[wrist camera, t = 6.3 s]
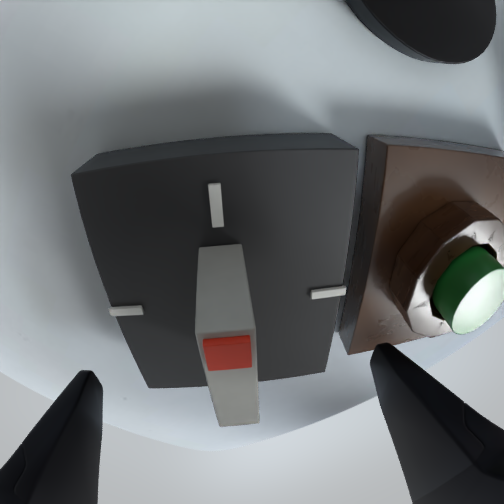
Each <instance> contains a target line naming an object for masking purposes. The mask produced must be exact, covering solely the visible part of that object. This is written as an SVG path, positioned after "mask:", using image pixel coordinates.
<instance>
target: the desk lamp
mask: <svg viewBox="0 0 504 504" xmlns="http://www.w3.org/2000/svg"><path fill="white" fill-rule="evenodd" d="M346 2H347V3H348V5H349V6H350V8H351V9H352V10H353V12H354V13H355V14H356V15H357V16H358V18H359V19H360V20H361V21H362V22H363V23H364V24H365V25H366V26H367V27H368V28H369V29H370V30H371V31H372V32H373V33H374V34H375V35H376V36H378V37H379V38H380V39H381V40H383V41H384V42H385V43H387V44H388V45H390V46H391V47H393V48H394V49H396V50H398V51H399V52H401V53H403V54H405V55H408V56H410V57H412V58H415V59H418V60H421V61H427V62H433V63H445V64H460V63H465V62H468V61H471V60H473V59H475V58H476V57H478V56H479V55H480V54H482V53H483V52H484V51H485V49H486V48H487V47H488V45H489V43H490V41H491V39H492V37H493V34H494V30H495V25H496V5H495V0H346Z"/></svg>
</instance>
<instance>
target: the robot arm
mask: <svg viewBox="0 0 504 504" xmlns="http://www.w3.org/2000/svg"><path fill="white" fill-rule="evenodd" d="M370 367H371V371H372V374H373V378H374V382H375V386H376V390H377V395H378V398H379V402H380V406H381V409H382V412H383V415H384V418H385V420H386V423H387V426H388V429H389V432H390V434H391V437H392V440H393V443H394V446H395V449H396V452H397V455H398V458H399V461H400V464H401V467H402V470H403V473H404V476H405V479H406V483H407V486H408V489H409V492H410V496H411V499H412V502H413V504H504V430H503V429H502V428H500V427H498V426H497V425H495V424H494V423H492V422H490V421H489V420H488V419H486V418H485V417H483V416H482V415H480V414H479V413H478V412H477V411H475V410H474V409H473V408H471V407H470V406H469V405H468V404H466V403H464V401H462V400H461V399H460V398H459V397H457V396H456V395H455V394H454V393H452V392H451V391H450V390H449V389H447V388H446V387H445V386H444V385H442V384H441V383H440V382H438V381H437V380H436V379H435V378H433V377H432V376H431V375H430V374H428V373H427V372H426V371H425V370H423V369H422V368H421V367H420V366H418V365H417V364H416V363H414V362H413V361H412V360H411V359H409V358H408V357H407V356H405V355H404V354H403V353H402V352H400V351H399V350H398V349H397V348H395V347H394V346H393V345H391V344H390V343H388V342H385V343H381V344H377V345H376V346H375V349H374V352H373V354H372V357H371V360H370ZM102 413H103V388H102V385H101V383H100V382H99V380H98V378H97V377H96V375H95V374H94V372H93V371H91V370H81V371H80V372H79V373H78V374H77V375H76V376H75V377H74V379H73V380H72V381H71V382H70V383H69V385H68V386H67V387H66V388H65V389H64V391H63V392H62V393H61V394H60V395H59V397H58V398H57V399H56V400H55V402H54V403H53V404H52V405H51V407H50V408H49V409H48V410H47V411H46V413H45V414H44V415H43V417H42V418H41V419H40V420H39V422H38V423H37V424H36V426H35V427H34V428H33V429H32V431H31V432H30V433H29V434H28V436H27V437H26V438H25V440H24V441H23V442H22V444H21V445H20V446H19V448H18V449H17V450H16V451H15V453H14V454H13V455H12V456H11V458H10V459H9V460H8V461H7V463H6V464H5V465H4V466H3V467H2V468H1V469H0V504H97V502H98V478H99V463H100V450H101V440H102Z"/></svg>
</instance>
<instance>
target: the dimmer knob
mask: <svg viewBox="0 0 504 504" xmlns="http://www.w3.org/2000/svg"><path fill="white" fill-rule="evenodd" d="M195 335H196V339H197V344H198V348H199V352H200V356H201V360H202V364H203V368H204V372H205V376H206V380H207V383H208V387H209V391H210V395H211V398H212V402H213V405H214V409H215V413H216V416H217V420H218V423H219V426H220V427H224V426H237V425H247V424H256V423H259V397H258V371H257V345H256V326H255V320H254V314H253V308H252V303H251V297H250V291H249V285H248V279H247V273H246V267H245V261H244V255H243V249H242V245H241V244H233V245H222V246H211V247H200V248H199V254H198V272H197V292H196V318H195Z"/></svg>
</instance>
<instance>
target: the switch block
mask: <svg viewBox="0 0 504 504" xmlns="http://www.w3.org/2000/svg"><path fill="white" fill-rule="evenodd" d="M474 246H479V247H482V248H484V249H485V250H486V251H488V252H489V253H490V254H491V255H492V256H493V257H494V258H495V259H496V260H497V261H498V262H499V263H500V264H501V265H502V266H503V267H504V151H501V150H496V149H490V148H484V147H479V146H472V145H466V144H459V143H452V142H444V141H436V140H427V139H418V138H407V137H395V136H380V135H368V136H367V149H366V162H365V172H364V182H363V192H362V200H361V209H360V216H359V224H358V231H357V238H356V245H355V251H354V257H353V263H352V269H351V275H350V280H349V286H348V291H347V296H346V302H345V307H344V311H343V316H342V321H341V326H340V330H339V335H340V338H341V340H342V342H343V345H344V347H345V350H346V352H347V354H348V355H351V354H356V353H361V352H366V351H371V350H374V349H375V346H376V345H377V344H381V343H385V342H388V343H390V344H391V345H397V344H401V343H405V342H409V341H413V340H416V339H420V338H424V337H430V338H431V337H435V336H439V335H442V334H446V333H449V332H452V329H451V328H450V326H449V325H448V324H447V322H446V321H445V319H444V318H443V317H442V315H441V314H440V313H439V311H438V310H437V308H436V307H435V306H434V304H433V299H432V295H433V290H434V288H435V285H436V282H437V280H438V279H439V277H440V276H441V275H442V274H443V272H444V271H445V270H446V268H447V267H448V266H449V264H450V263H451V262H452V260H453V259H455V258H456V257H458V256H459V255H460V254H462V253H463V252H465V251H466V250H467V249H469V248H470V247H474Z"/></svg>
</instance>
